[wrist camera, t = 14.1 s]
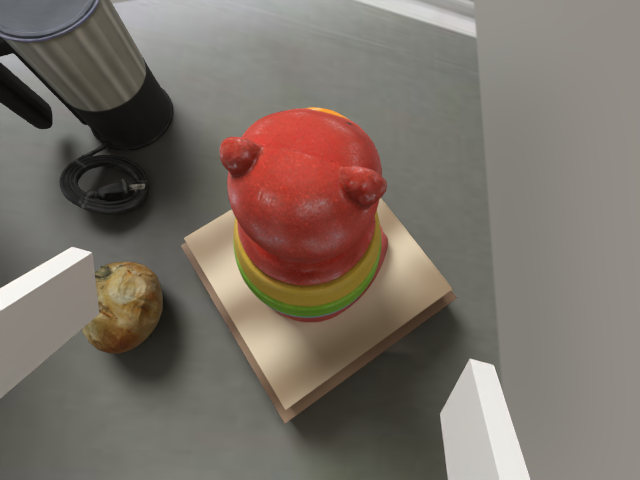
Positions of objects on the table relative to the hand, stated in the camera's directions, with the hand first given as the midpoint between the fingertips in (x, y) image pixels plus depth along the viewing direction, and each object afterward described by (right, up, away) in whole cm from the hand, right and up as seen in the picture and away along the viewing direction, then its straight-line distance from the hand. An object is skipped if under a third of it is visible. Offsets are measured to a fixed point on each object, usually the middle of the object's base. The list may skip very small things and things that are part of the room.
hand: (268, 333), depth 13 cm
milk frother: (-19, +13, +28) cm, 37 cm away
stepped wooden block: (+1, -1, +23) cm, 23 cm away
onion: (-16, -4, +23) cm, 28 cm away
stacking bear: (+1, +1, +18) cm, 18 cm away
